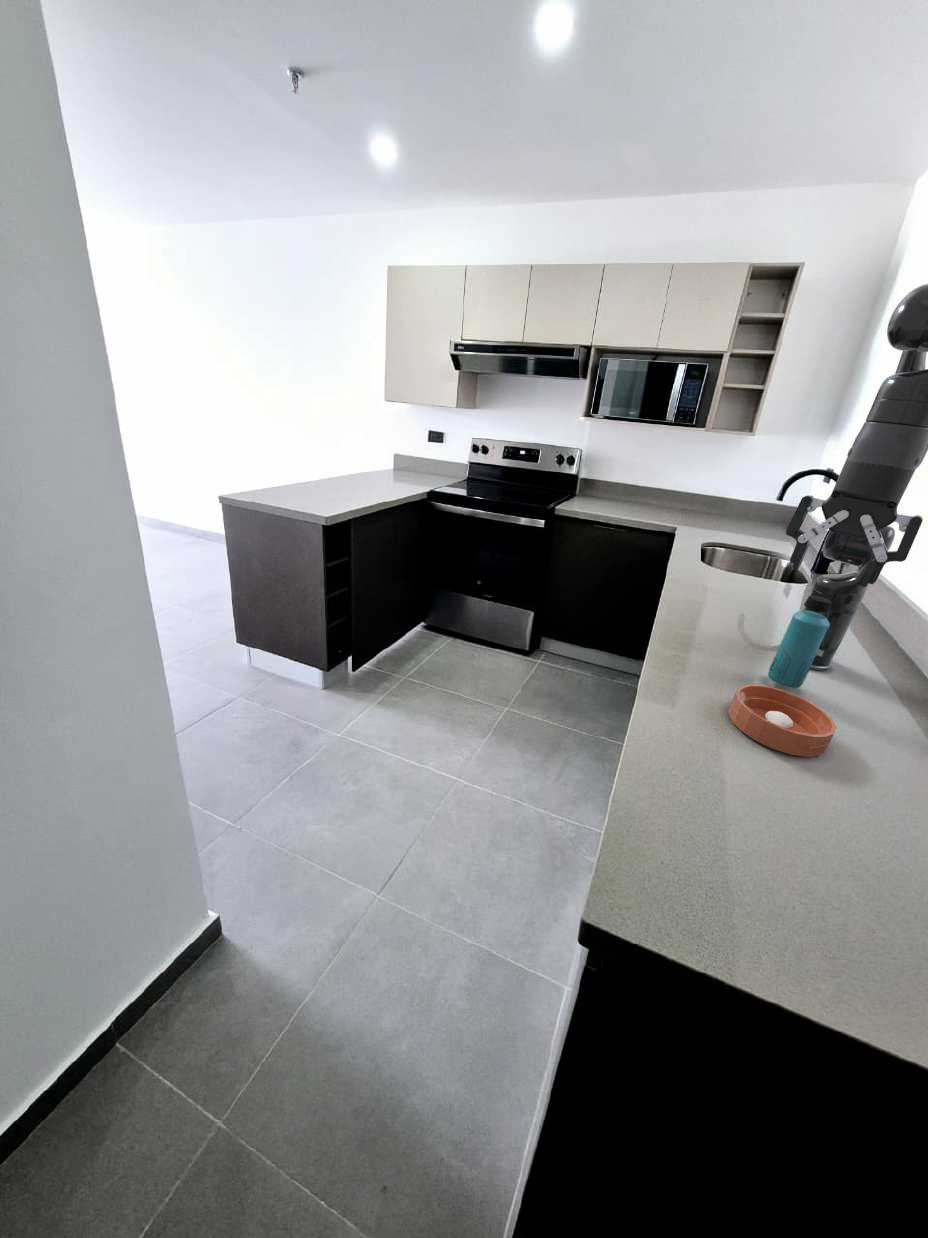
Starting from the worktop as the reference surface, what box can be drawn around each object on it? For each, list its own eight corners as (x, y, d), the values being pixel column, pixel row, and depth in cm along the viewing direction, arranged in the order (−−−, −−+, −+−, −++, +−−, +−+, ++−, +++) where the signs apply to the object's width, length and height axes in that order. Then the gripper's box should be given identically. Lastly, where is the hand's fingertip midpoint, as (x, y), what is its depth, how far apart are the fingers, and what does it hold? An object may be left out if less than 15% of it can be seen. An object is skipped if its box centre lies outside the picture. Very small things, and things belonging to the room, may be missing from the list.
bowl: (741, 695, 96) (749, 675, 94) (830, 734, 87) (842, 713, 85) (716, 724, 85) (725, 703, 83) (815, 772, 76) (828, 749, 74)
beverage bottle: (804, 698, 98) (848, 607, 89) (769, 691, 99) (810, 600, 90) (791, 681, 104) (831, 595, 95) (758, 675, 104) (795, 589, 96)
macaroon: (791, 728, 86) (797, 716, 85) (785, 739, 83) (791, 727, 82) (765, 716, 89) (770, 705, 88) (758, 726, 85) (763, 715, 84)
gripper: (951, 471, 63) (890, 587, 69) (823, 453, 71) (780, 558, 78) (951, 472, 57) (886, 597, 64) (814, 452, 66) (769, 565, 73)
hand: (828, 576), depth 71 cm, fingers open, 8 cm apart
